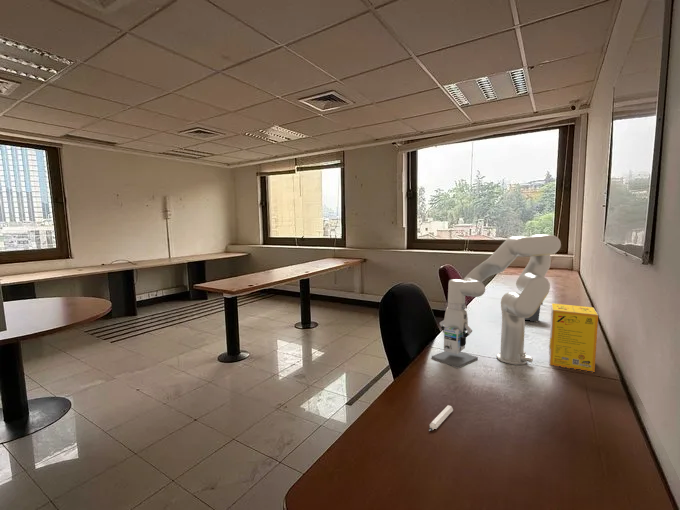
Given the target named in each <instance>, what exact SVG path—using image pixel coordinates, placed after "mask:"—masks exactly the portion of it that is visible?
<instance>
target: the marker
mask: <svg viewBox="0 0 680 510" xmlns="http://www.w3.org/2000/svg"><path fill="white" fill-rule="evenodd" d="M453 411H454V409H453V406H452V405H449V404H447V406H446V407H445V408H444V409H443V410H441V412H440V413H438V415H437V416H436V417H434V419H433V420H432V421H431V422H430V423H429V428H428V431H429V432H430V431H434V429H436V430H437V429H438V428H439V427H440V426H441V425H442V423H443V422H444V421H445V420H446V419H447V418H448V417H449V415H451V413H452V412H453Z"/></svg>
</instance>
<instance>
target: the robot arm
mask: <svg viewBox="0 0 680 510" xmlns="http://www.w3.org/2000/svg"><path fill="white" fill-rule="evenodd" d="M561 243H562V242H561V240H560V238H559V237H558V236H556V235H554V234H544V233H543V234H539V233H538V234H537V233H536V234H534V235H533V234H532V235H531V236H510V237H508V238H507V239H506V240H504V241H503V242H502V243H501V244H500V245H499V247H498V248H496V250H495V251H494V252H493V253H492V254H491V255H490V256H489V257H488V258H487V259H485V260H484V261H483V262H481V263H480V264H478V265H477V266H475V267H474V268H473V269H472V270H471V271H469V273H467V275H466V276H465V277H463V279H460V278H459V279H458V278H455V279H454V278H453V279H449V280H448V286H447V287H448V289H447V291H448V292H447V307H446V309H445V312H444V318H443V320H442V321H440V322H439V326H440V327H441V330H442V332H443V333H444V328H446V327H452V328H455V329H458V330H460V333H461V337H462V338H460V346H461V347H462V346H465V347H466V345H467V337H468V336H470V335H471V334H472V333H473V329H472V328H471V327H470V326H469V317H468V311H467V310H466V309H467V308H468V305H466V296H467V297H474V298H479V297H482V296H483V295H485V292H486V286H485V284H484V283H483V282H484V281H485V280H486V279H487V278H489V277H491V276H494V275H497V274H500V273H502V272H504V271H505V270H506V269H507V268H508V267H509V266H510V265H511V264H512V263H513V262H514V261H515V260H516V259H517V258H518V257H523V258H524V257H529V261H528V263H527V265H526V266H525V268H524V269H523V270H522V272H521V274H520V275H519V276H518V277H517V279H516V283H515V286H516V288H517V289H518V290H519V291H520V292H521V293H518V292H515V291H508V292H506V293H504V294H503V295H502V297H501V299H500V309H501V332H500V334H501V336H500V352H498V353H497V354H496V358H497V360H499V361H501V362H503V363H506V364H510V365H518V366H521V365H525V364H527V363H531V364H532V363H533V361H534V358H533V357H532V356H530V355H527V352H526V351H525V350H524V349H525V348H524V347H525V334H526V333H525V332H526V331H525V329H526V321H525V318H529V317H531V316H532V315H533V314H534V313H535V312H536V311H537V309H538V308H539V306H540V305H541V304H542V302H544V301H545V300H546V298H547V296H548V295H549V292H550V288H551V285H550V281H549V280H548V279H547V277H546V275H547V273H548V271H549V270H550V267H551V266H552V265H551V264H552V258H551V255H554V254H557V252H558V251H560V249H561V247H562V244H561ZM541 306H542V305H541ZM541 306H540V307H541ZM465 331H466V332H465Z"/></svg>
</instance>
